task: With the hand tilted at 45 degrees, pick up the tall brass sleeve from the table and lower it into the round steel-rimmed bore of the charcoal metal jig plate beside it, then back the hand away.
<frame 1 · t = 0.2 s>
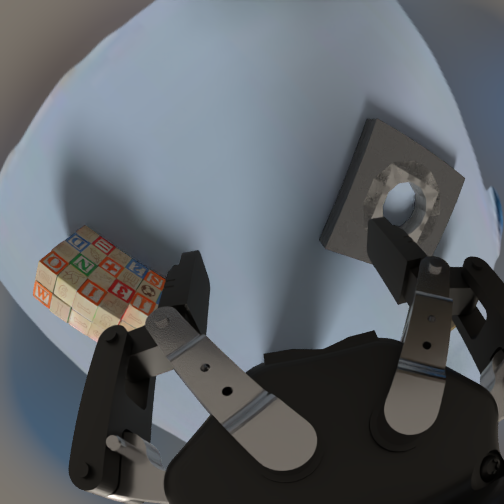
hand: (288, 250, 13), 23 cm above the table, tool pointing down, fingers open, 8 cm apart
jig plate: (395, 203, 35), on the table
stack of blocks: (133, 276, 39), on the table
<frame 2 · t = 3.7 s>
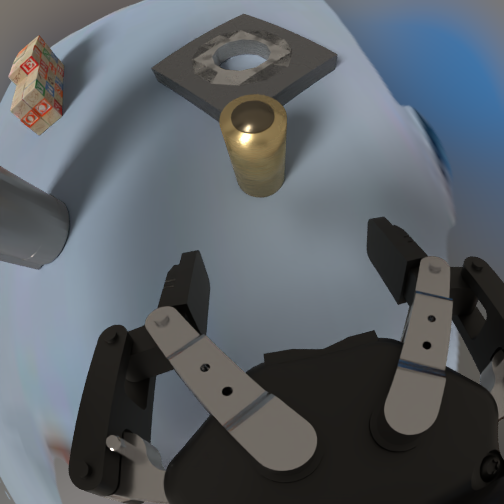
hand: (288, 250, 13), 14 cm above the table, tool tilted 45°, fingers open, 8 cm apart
jig plate: (243, 68, 32), on the table
brass sleeve: (260, 175, 28), on the table
stack of blocks: (52, 96, 37), on the table
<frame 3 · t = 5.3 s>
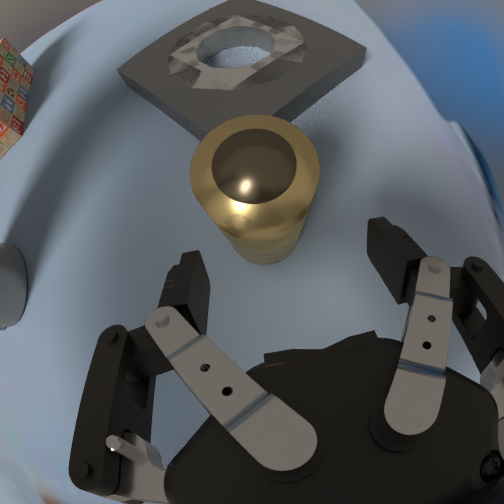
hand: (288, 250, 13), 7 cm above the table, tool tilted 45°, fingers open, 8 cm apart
jig plate: (239, 65, 23), on the table
brass sleeve: (264, 230, 20), on the table
stack of blocks: (17, 109, 28), on the table
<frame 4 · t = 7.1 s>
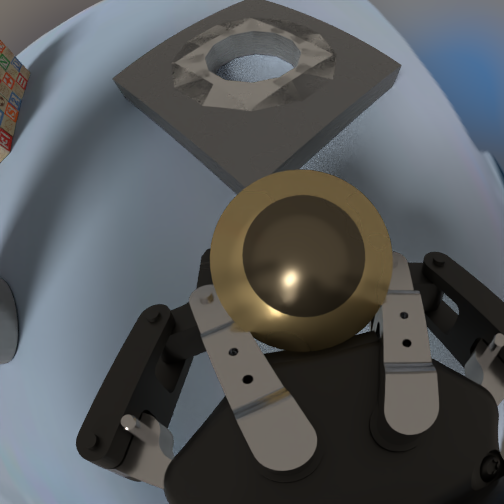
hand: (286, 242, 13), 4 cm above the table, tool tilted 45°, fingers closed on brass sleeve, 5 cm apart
jig plate: (255, 77, 21), on the table
brass sleeve: (289, 286, 17), on the table, touching gripper
stack of blocks: (9, 117, 25), on the table
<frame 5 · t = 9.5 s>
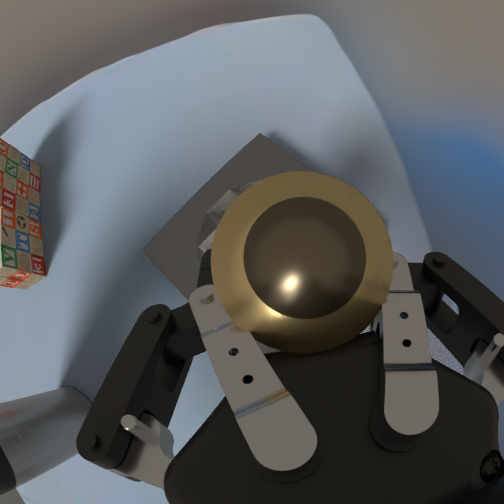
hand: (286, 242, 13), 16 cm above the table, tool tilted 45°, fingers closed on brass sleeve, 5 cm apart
jig plate: (266, 250, 29), on the table
brass sleeve: (289, 287, 17), point 12 cm above the table, touching gripper
stack of blocks: (31, 223, 34), on the table
when the fingers open (6 cm above the table, at t = 12.2 s): brass sleeve drops 2 cm, resting in jig plate.
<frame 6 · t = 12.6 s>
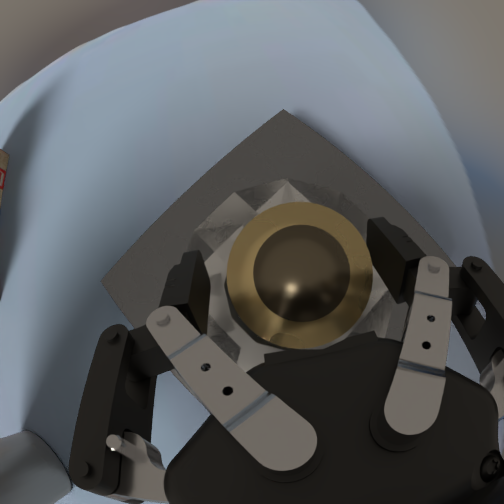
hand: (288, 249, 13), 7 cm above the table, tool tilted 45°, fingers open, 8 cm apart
jig plate: (287, 288, 19), on the table
brass sleeve: (287, 290, 19), resting in jig plate
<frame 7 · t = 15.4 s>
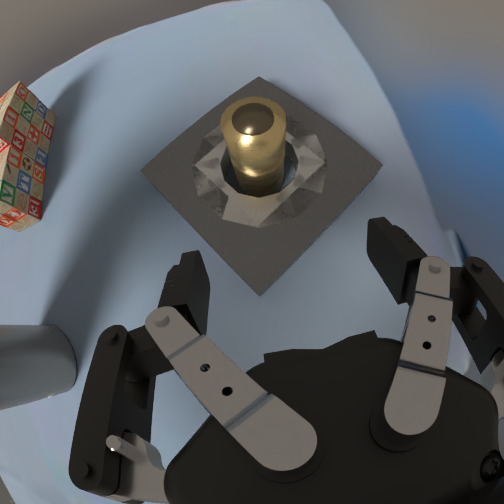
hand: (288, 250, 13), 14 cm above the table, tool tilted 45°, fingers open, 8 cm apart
jig plate: (260, 175, 29), on the table
brass sleeve: (260, 176, 29), resting in jig plate
stack of blocks: (36, 169, 34), on the table
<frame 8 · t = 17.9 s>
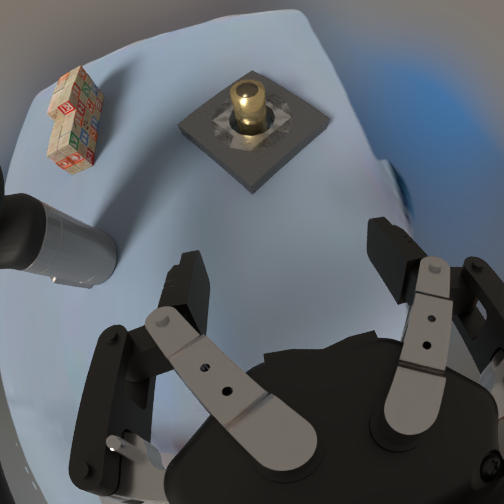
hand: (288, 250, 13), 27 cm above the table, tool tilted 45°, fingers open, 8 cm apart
jig plate: (253, 128, 44), on the table
brass sleeve: (253, 129, 44), resting in jig plate
stack of blocks: (88, 132, 49), on the table
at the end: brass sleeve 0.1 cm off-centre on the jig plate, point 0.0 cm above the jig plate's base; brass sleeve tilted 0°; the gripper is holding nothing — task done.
